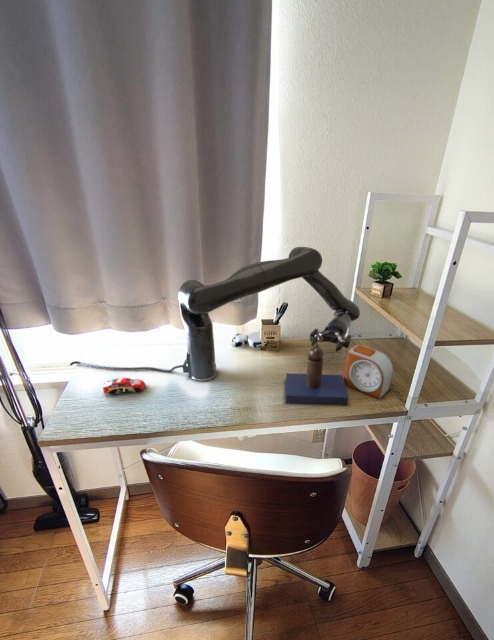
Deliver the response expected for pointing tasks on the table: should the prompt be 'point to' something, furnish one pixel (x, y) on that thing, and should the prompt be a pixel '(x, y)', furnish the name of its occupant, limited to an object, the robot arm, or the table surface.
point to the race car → (123, 386)
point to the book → (316, 390)
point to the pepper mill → (314, 367)
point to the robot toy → (247, 340)
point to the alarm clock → (368, 370)
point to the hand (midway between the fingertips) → (324, 346)
